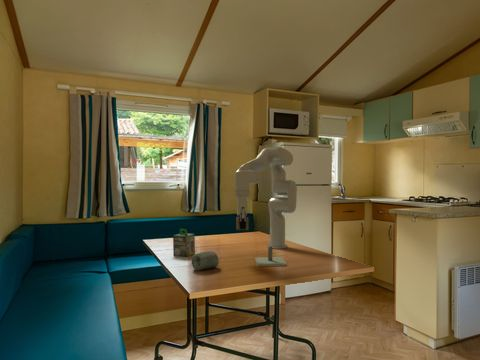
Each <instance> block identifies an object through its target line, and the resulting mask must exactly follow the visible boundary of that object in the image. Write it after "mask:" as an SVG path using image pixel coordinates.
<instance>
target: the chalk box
mask: <svg viewBox="0 0 480 360" xmlns="http://www.w3.org/2000/svg"><path fill="white" fill-rule="evenodd" d="M195 236H196V234H195V233H188V229H187V228H179V233H177V234H174V235H173V236H172V238H173V239H172V240H173V242H172V244H173V245H172V246H173V249H172V250H173V256H177V257H184V258H185V257H186V258H187V257H189V256H193V255H194V254H196V238H195Z"/></svg>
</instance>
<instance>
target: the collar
mask: <svg viewBox="0 0 480 360" xmlns="http://www.w3.org/2000/svg"><path fill="white" fill-rule="evenodd" d="M245 217H246V229H240V217H239V216H236V218H235V219H236V220H235V221H236V225H235V226H236V231H249V217H248V216H245Z"/></svg>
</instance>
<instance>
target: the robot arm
mask: <svg viewBox="0 0 480 360" xmlns="http://www.w3.org/2000/svg"><path fill="white" fill-rule="evenodd" d="M293 162H294V155H293V154H292V152H291V151H290V150H288V149H286V148H284V147H282V146H271V147H270V146H269V147H264V148H263V149H262V150H261V151H260V152H259V153H258V155H257V156H256V157H255V158H254V159H252V160H250V161H248V162H246V163H244V164H242V165H241V166H240V167H239V168H238V169H237V170H236V171H235V173H234V179H235V181H234V188H235V189H234V190H235V191H234V196H235V197H236V214H237V217H240V229H246V217H247V215H248V197H249V198H250V185H256V184H258V183H260V181H261V178H262V176H261V174H260V172H263V171H265V170H266V169H267V168H268V167H269V168H270V169H271V174H272V176H271V177H272V179H271V192H272V194H273V195H276V196H277V197H271V198H270V199H269V201H268V212H269V244H267V247H268V246H272V250H273V249H275V250H278V249H279V250H282V249H287V248H288V244H286V218H285V216H284V213H285V214H287V213H288V214H292V213H294V212H295V211H296V210H297V209H296V208H297V199H298V198H297V197H298V196H297V193H298V189H297V187H298V186H297V184H296V181H294V180H291V179H286V175H287V172H286V170H285V168H284V166H287V167H288V166H291V165H292V164H293ZM280 196H283V197H280ZM284 196H287V197H284Z"/></svg>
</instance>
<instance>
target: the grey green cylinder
mask: <svg viewBox="0 0 480 360" xmlns="http://www.w3.org/2000/svg"><path fill="white" fill-rule="evenodd" d="M190 260H191V265H192V268H193V269H194V271H197V272H198V271H202V270H208V269H213V268H216V267H218V266H219V257H218V254H217V253H216V252H215V251H211V250H210V251H202V252H198V253H195V254H192V255H191V259H190Z"/></svg>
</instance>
